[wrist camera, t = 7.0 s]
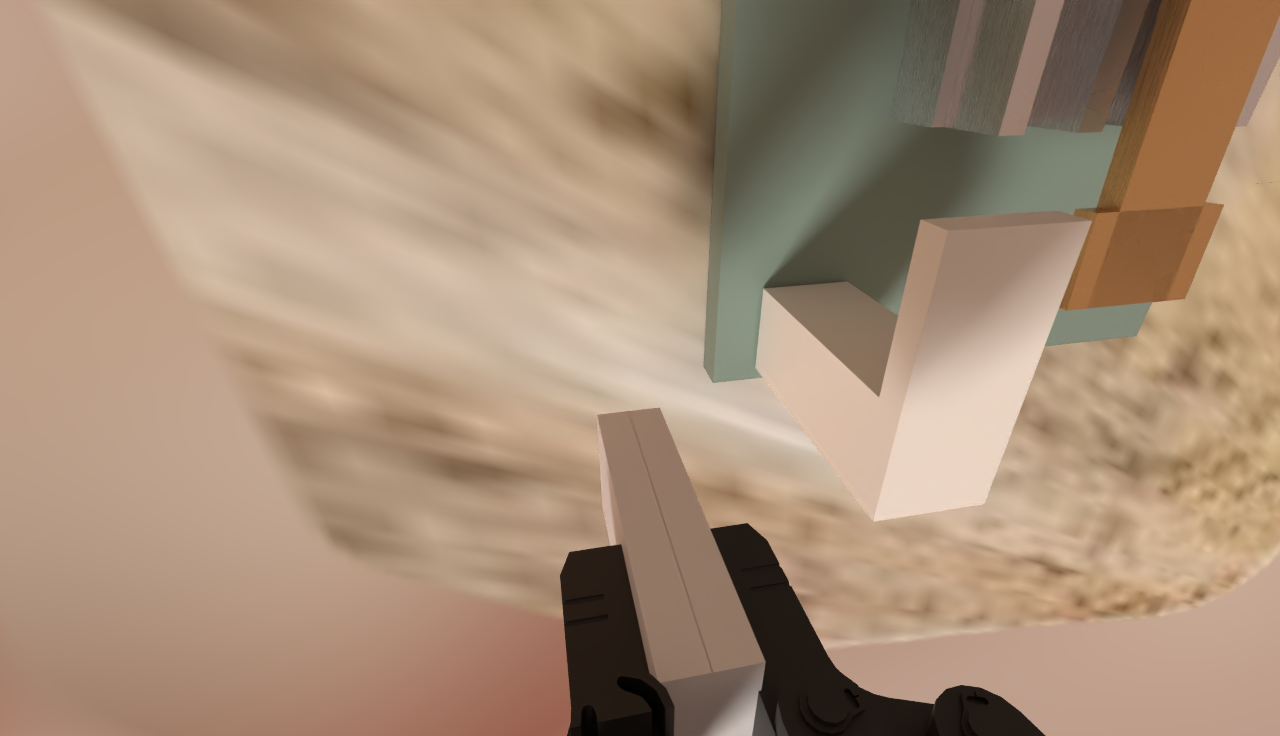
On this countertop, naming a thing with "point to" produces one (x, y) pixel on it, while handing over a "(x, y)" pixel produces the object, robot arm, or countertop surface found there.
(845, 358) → the cream l-shaped bracket
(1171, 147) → the strap
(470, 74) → the countertop surface
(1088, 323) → the board
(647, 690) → the robot arm
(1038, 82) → the heatsink
